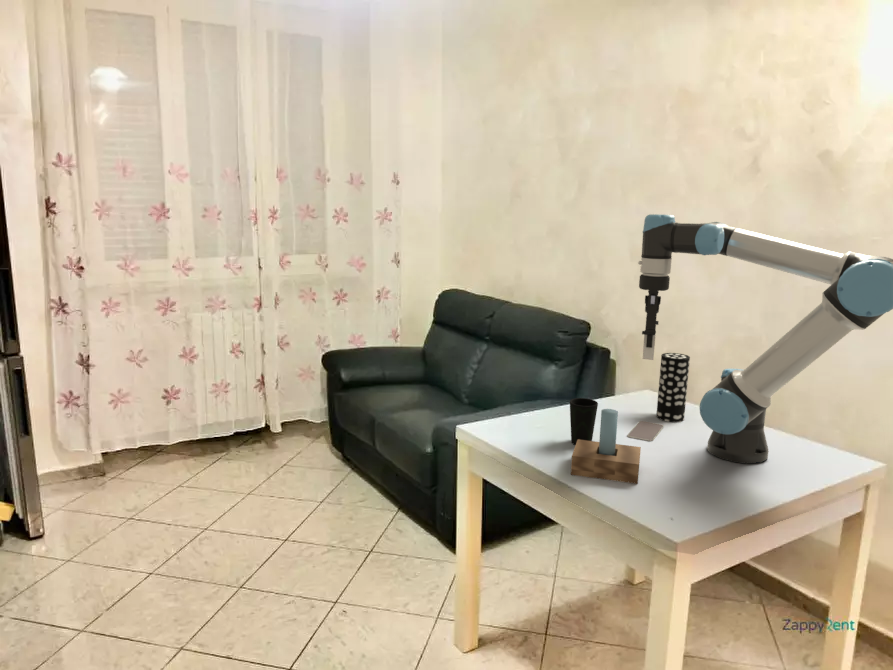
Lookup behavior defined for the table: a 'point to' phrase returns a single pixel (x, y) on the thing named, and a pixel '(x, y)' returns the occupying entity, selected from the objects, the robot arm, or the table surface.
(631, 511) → the table surface
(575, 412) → the cup
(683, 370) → the white-spotted black cylinder
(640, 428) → the smartphone
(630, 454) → the bore block
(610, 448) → the pin
